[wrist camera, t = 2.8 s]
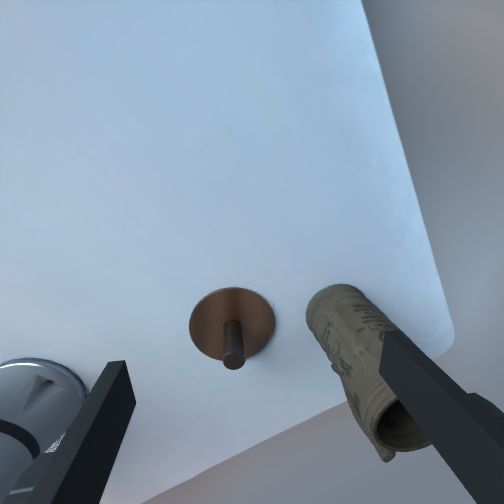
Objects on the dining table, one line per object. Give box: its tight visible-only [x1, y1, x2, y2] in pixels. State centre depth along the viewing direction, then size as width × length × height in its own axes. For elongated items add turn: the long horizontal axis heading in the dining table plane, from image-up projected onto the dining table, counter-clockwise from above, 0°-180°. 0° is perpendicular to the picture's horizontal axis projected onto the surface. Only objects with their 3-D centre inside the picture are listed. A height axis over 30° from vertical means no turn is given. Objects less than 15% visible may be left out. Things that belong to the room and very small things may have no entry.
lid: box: [189, 287, 274, 370], centre depth 37 cm, size 14×14×8 cm
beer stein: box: [306, 284, 432, 463], centre depth 34 cm, size 15×11×20 cm
